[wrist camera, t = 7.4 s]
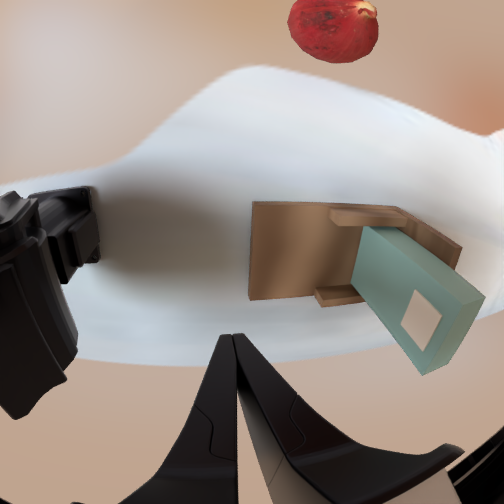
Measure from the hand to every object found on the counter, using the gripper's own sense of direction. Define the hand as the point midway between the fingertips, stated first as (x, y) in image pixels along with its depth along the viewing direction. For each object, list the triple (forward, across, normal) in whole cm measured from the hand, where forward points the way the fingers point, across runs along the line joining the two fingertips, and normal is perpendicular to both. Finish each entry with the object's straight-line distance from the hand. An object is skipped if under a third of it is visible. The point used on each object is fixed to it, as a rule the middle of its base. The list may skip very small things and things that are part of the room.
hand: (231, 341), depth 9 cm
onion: (+13, -7, -15) cm, 21 cm away
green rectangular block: (+12, -14, +3) cm, 18 cm away
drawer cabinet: (+13, -10, +3) cm, 17 cm away
